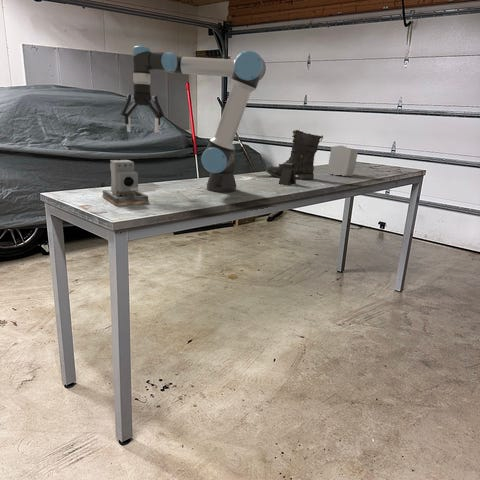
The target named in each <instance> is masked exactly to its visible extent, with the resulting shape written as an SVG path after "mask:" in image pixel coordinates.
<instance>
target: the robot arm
mask: <svg viewBox="0 0 480 480" xmlns="http://www.w3.org/2000/svg"><path fill="white" fill-rule="evenodd" d="M132 68H133V69H132V71H133V76H132V77H133V83H134V84H133V94H130V93H128V94H127V93H126V100H125V102H124V104H123V106H122V109H121V110H120V113H119V115H120V116H122V117H124V124H125V125H126V131H127V133H131V131H132V129H131V127H132V126H131V116H130V115H131V114H132V112H133V111H134V110H135V109H136V107H137V106H147V107H148V108H149V110H150V111H151V112H152V113H153V115H154V116H155V118H154V133H159V126H160V125H161V118H164V117H165V114H164V111H163V109H162V107H161V105H160V103H159V101H158V100H159V99H158V95H151V92H152V91H151V85H150V84H151V71H162V72H166V73H169V74H172V75H179V74H180V75H181V74H182V75H195V76H196V75H197V76H208V77H209V76H210V77H226V78H227V77H228V78H231V79H230V80H231V83H232V87H231V88H230V92H229V95H228V97H227V100H226V103H225V105H224V107H223V108H224V109H223V112H222V114H221V116H220V120H219V122H218V125H217V128H216V130H215V134H214V136H213V137H211V138H210V139H209V141H208V144H207V147H206V149H204V151H203V152H202V154H201V158H200V161H201V165H202V166H203V168H204V169H205V170H206V172H209V173H210V174H209V177H208V180H207V182H206V190H207V191H210V192H218V193H231V192H232V193H233V192H236V191H237V187H238V186H237V182H236V178H235V174H234V171H235V153H236V147H235V144H233V143H234V139H235V136H236V134H237V131H238V129H239V125H240V123H241V121H242V118H243V115H244V113H245V109H246V107H247V104H248V101H249V99H250V96H251V94H252V92H253V91H255V90H257V88H258V84H259V83H260V81H261V80H262V79H263V77H264V76H265V74H266V69H267V68H266V62H265V60H264V59H263V57H261V55H260V54H259V53H257V52H256V51H252V50H244V51H242V52H240V53H239V54H238V55H237V56H236V58H235V59H231V58H230V59H229V58H215V57H214V58H213V57H212V58H210V57H199V56H198V57H195V56H192V57H191V56H179V55H178V56H177V55H176V54H175V52H168V51H165V52H164V51H163V52H162V51H151V48H150V47H149V46H143V45H135V46H133V47H132ZM132 99H133V100H134V101H133V103H132V104H131V106H130V103H131V100H132ZM151 101H152V102H153V104H154V105H153V104H152V102H151ZM129 106H130V107H129ZM129 116H130V117H129Z"/></svg>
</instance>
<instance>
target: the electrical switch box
mask: <svg viewBox="0 0 480 480" xmlns="http://www.w3.org/2000/svg"><path fill="white" fill-rule="evenodd" d="M357 159H358V150H357V149H354V148H350V147H347V146H344V145H335V146H331V148H330V153H329V160H328V165H327V170H326V173H328V174H329V175H332V174H335V175H342V176H341V177H344V176H346V177H351V176H350V175H352V176H353V175H354V173H355V169H356V168H355V167H356V163H357Z"/></svg>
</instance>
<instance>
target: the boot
mask: <svg viewBox="0 0 480 480" xmlns="http://www.w3.org/2000/svg"><path fill="white" fill-rule="evenodd" d="M292 134H293V135H292V136H291V138H292V141H291V142H292V145H291V150H290V157H288V159H287V160H285V162H287V163H294V164H295V167H294V170H295V176H297V179H298V178H303V179H302V180H313V178H315V177H314V169H315V165H314V164H315V162H314V161H315V157H316V154H317V152H318V146H319V144H320V143H321V141H323V139H324V135H318V134H311V133H306V132H304V131H300V130H299V129H295V130H294V129H293V131H292ZM282 169H283V163H278V166H270V165H269V166H267V168H266V169H265V172H266V173H268V174H269V175H271V176H274V177H277V178H280V176H281V173H282Z"/></svg>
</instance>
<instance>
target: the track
mask: <svg viewBox="0 0 480 480" xmlns="http://www.w3.org/2000/svg"><path fill="white" fill-rule="evenodd" d="M134 193H135V196H134V197H120V198H118V197H116V196H114V195H113V194H112V192H110V191H108V190H106V189H105V190H104V189H103V190H102V195H101V197H102V198H103V199H105V200H106V201H108V202H109V203H111V204H112V205H113V206H114V207H119V206H130V205H132V206H133V205H141V204H143V205H144V204H149V203H150V201H149V195H147V194H145V193H144V192H141V191H139V190H138V191H135V192H134Z"/></svg>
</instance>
